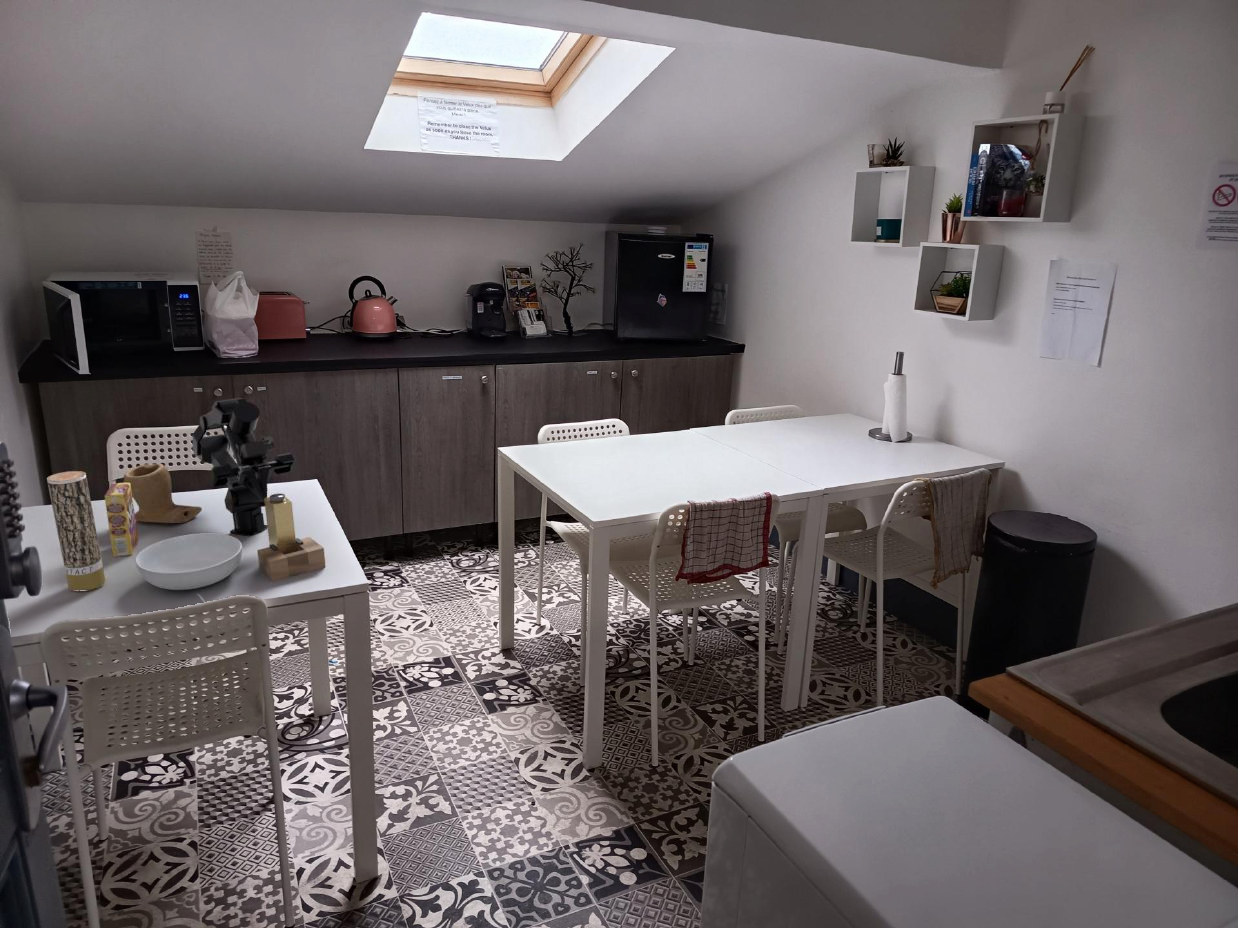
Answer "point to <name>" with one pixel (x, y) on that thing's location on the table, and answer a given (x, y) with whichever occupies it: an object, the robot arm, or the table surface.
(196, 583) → the serving bowl
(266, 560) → the walnut housing
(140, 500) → the tan ankle boot
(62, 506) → the paper tube
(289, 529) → the brass post
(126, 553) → the candy box
